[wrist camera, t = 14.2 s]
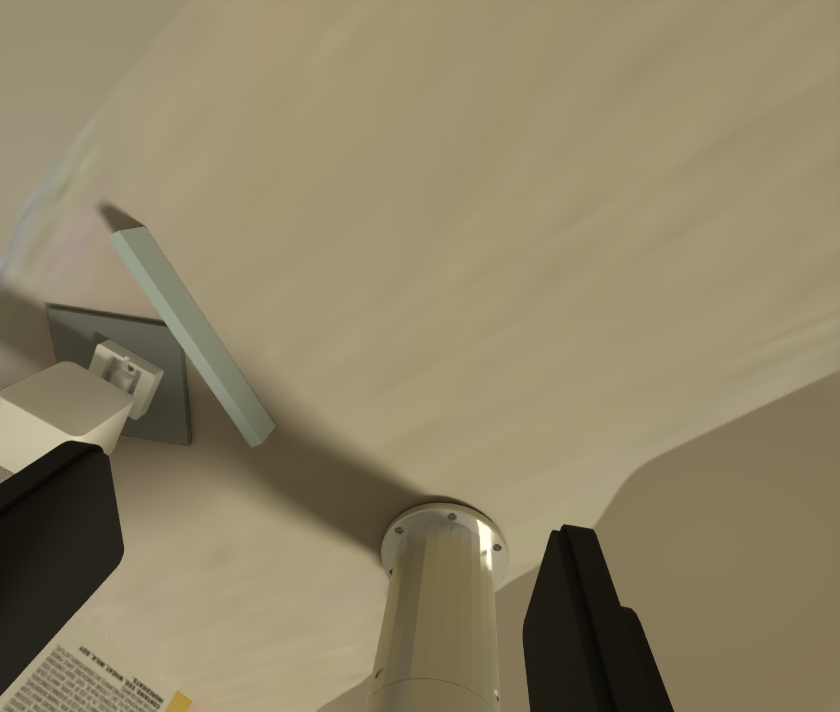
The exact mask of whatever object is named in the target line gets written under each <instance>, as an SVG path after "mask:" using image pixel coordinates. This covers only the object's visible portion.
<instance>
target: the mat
mask: <svg viewBox="0 0 840 712" xmlns="http://www.w3.org/2000/svg"><path fill="white" fill-rule="evenodd" d="M46 310H47V315H48V320H49V325H50V330H51V335H52V340H53V345H54V350H55V355H56V360H57V364H58V363H60V362H65V361H68V362H73V363H76V364H77V365H79V366H81V367H83V368H85V369H86V370H89V367H90V364H91V361H92V358H93V356H94V353H95V350H96V347H97V345H98V344H100V343H102V342H105V341H107V340H109V339H110V340H112V341H114V342H116V343H117V344H119V345H121V346H123V347H124V348H126V349H128V350H130V351H131V352H133V353H135V354H136V355H138V356H140V357H142V358H143V359H145V360H147V361H148V362H150V363H152V364H154V365H155V366H157V367H159V368H161V369H162V370H163V371H164V373H163V376H162V378H161V380H160V383H159V385H158V387H157V389H156V392H155V394H154V396H153V399H152V401H151V403H150V405H149V408H148V410H147V412H146V413H145V414H144V415H142V416H141V417H140V418H138V419H137V420H134V419H132V418H131V417H129V416H128V417H127V419H126V421H125V424H124V426H123V429H122V431H121V433H120V435H125V436H131V437H137V438H143V439H149V440H155V441H161V442H167V443H173V444H179V445H185V446H189V445H190V444H191V443H192V441H191V429H190V417H189V405H188V393H187V380H186V368H185V356H184V349H183V348H182V346H181V345H180V344H179V342H178V341H177V339H176V338H175V336H174V335H173V333H172V332H171V330H170V329H169V328H168V326H167V325H166V324H162V323H155V322H149V321H142V320H136V319H130V318H123V317H117V316H110V315H104V314H97V313H91V312H84V311H78V310H72V309H65V308H59V307H49V308H46ZM128 368H129V369H130V370H131V371H133V370H134V368H133V367H132V366H130V365H129V364H128Z"/></svg>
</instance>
